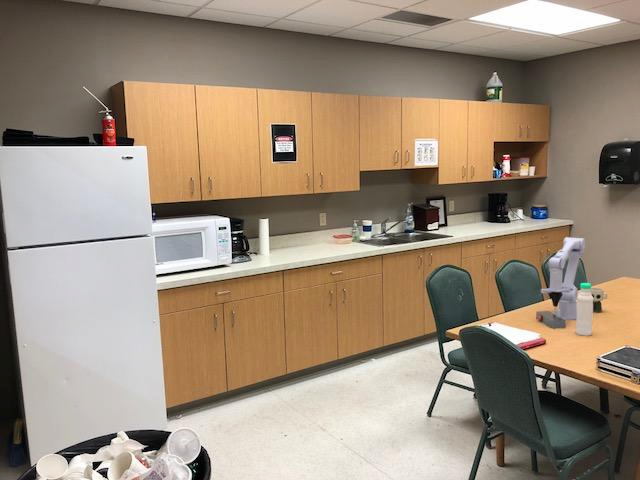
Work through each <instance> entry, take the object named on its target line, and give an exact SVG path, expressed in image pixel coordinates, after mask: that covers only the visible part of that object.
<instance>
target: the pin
mask: <svg viewBox="0 0 640 480" xmlns="http://www.w3.org/2000/svg"><path fill="white" fill-rule="evenodd" d="M536 320H537V321H538V322H541V320H542V316H541V315H538V316H537V319H536Z"/></svg>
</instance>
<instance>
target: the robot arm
mask: <svg viewBox="0 0 640 480" xmlns="http://www.w3.org/2000/svg"><path fill="white" fill-rule="evenodd" d="M562 245H563V246H562V248H561V249H559V250H558V251H557V252H556V253H555V255H554V256H553V257H550V258H549V259H548V264H547V265H548V271H549V272H550V273H549V275H550V276H549V287H548V288H540V293H541V294H548V295H549V297H550V299H551V302H552V307H554V308H557V309H559V310H560V317H561V318H562V319H564V320H577V301H578V300H577V297H578V295H579V291H578V288H577V287H576V286H575V285H574V282H575V278H576V275H577V271H578V267H579V261H580V257H581V256H583V255H584V253H585V250H586V240H585V238H584V237H580V238H579V237H569V236H566V237H564V239H563V242H562ZM567 260H568V263H567V267H566V270H565V275H564V280H563V269H565V265H566V262H567Z"/></svg>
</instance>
